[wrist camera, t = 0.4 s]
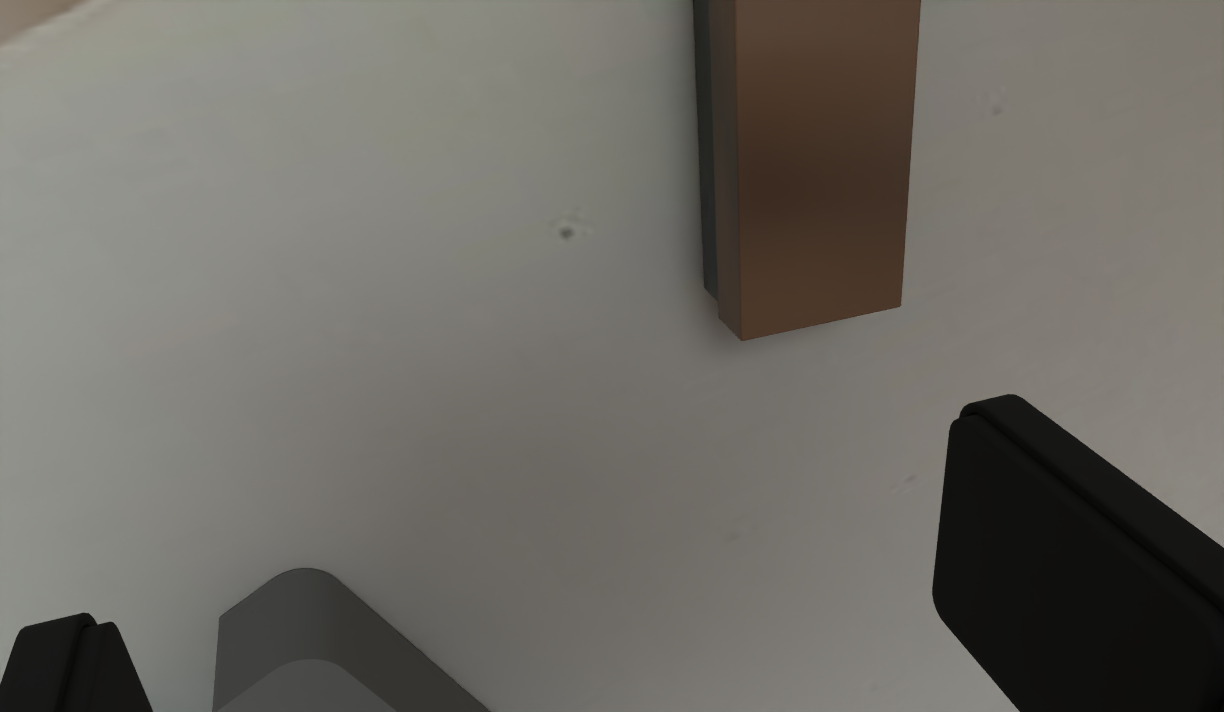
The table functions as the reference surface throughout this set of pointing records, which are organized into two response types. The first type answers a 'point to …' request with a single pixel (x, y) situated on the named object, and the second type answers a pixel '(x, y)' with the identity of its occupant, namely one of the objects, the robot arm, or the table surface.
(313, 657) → the bracket
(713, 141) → the brush
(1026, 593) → the robot arm
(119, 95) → the table surface
